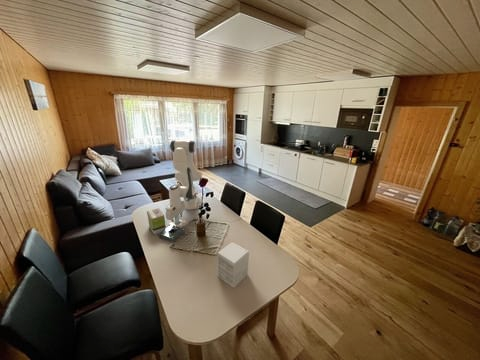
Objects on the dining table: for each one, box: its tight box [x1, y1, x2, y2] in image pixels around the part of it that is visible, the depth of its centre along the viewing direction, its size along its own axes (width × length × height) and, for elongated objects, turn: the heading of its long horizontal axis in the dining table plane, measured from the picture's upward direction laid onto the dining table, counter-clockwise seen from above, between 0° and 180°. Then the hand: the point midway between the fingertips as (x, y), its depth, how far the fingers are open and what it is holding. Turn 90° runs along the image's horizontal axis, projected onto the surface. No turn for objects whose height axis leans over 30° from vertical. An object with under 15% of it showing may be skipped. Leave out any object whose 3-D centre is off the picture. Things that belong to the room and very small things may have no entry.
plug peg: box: [174, 214, 180, 225], centre depth 164 cm, size 4×4×12 cm
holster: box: [168, 218, 187, 228], centre depth 165 cm, size 10×10×3 cm
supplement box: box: [217, 241, 250, 289], centre depth 113 cm, size 13×13×18 cm
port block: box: [158, 225, 186, 244], centre depth 151 cm, size 14×14×5 cm
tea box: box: [146, 207, 167, 235], centre depth 158 cm, size 15×10×15 cm, turn 37°
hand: (177, 219), depth 163 cm, fingers open, 8 cm apart
